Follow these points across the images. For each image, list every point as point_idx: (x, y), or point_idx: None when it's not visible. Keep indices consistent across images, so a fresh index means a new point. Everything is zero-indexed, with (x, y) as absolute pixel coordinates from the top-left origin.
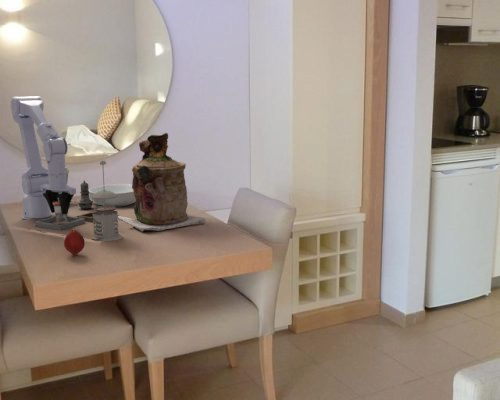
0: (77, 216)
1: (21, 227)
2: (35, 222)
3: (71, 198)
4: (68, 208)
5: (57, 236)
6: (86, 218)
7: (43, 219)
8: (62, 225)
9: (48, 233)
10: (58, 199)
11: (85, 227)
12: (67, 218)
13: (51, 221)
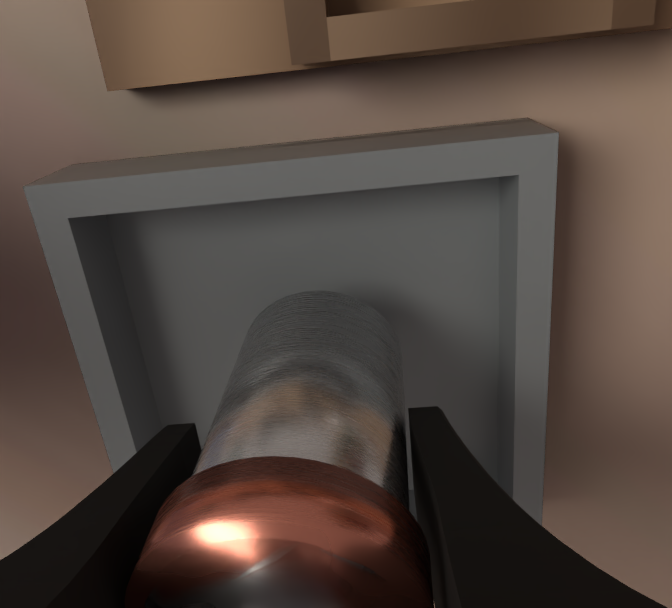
0: (300, 63)
1: (12, 536)
2: None
3: (602, 588)
4: (464, 451)
5: None
6: (505, 39)
7: (116, 470)
8: (541, 516)
9: None
10: (169, 581)
11: (602, 187)
12: (396, 347)
13: (132, 354)
